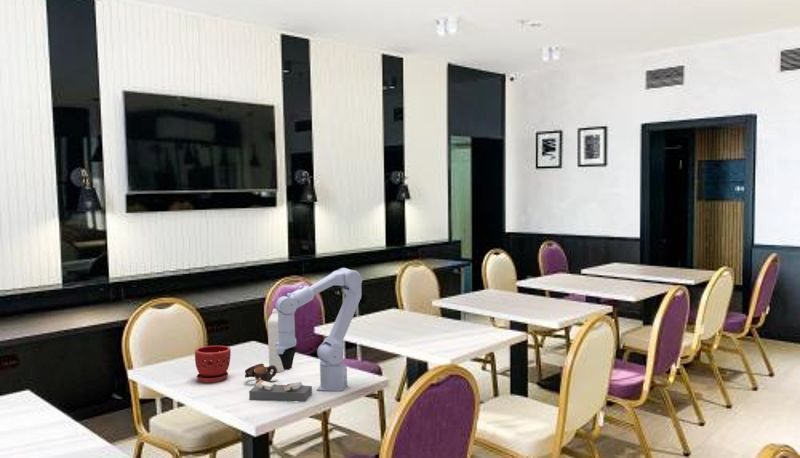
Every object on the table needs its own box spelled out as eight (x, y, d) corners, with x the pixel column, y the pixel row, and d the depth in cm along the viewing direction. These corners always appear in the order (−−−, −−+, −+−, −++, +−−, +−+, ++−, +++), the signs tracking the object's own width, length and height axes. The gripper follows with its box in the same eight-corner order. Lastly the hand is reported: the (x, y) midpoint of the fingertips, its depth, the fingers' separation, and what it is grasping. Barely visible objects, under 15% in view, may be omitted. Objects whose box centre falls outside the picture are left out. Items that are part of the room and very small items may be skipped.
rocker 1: (273, 387, 219) (274, 383, 219) (269, 390, 216) (270, 386, 216) (260, 384, 220) (261, 380, 220) (256, 387, 217) (257, 383, 217)
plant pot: (221, 385, 234) (220, 353, 233) (189, 383, 236) (188, 352, 235) (237, 374, 246) (236, 344, 246) (206, 373, 249) (205, 343, 248)
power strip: (312, 394, 221) (311, 385, 221) (304, 401, 213) (304, 392, 213) (258, 392, 225) (258, 383, 224) (249, 399, 217) (249, 390, 216)
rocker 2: (301, 385, 218) (300, 381, 218) (298, 388, 214) (297, 384, 214) (288, 387, 219) (287, 383, 219) (284, 391, 215) (283, 387, 215)
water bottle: (276, 373, 247) (274, 311, 245) (265, 370, 251) (263, 309, 249) (293, 368, 254) (291, 307, 252) (282, 365, 258) (280, 305, 256)
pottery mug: (250, 390, 229) (242, 369, 231) (249, 394, 237) (242, 373, 240) (281, 377, 233) (273, 357, 236) (279, 381, 242) (272, 362, 244)
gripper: (282, 326, 227) (284, 363, 228) (268, 335, 213) (269, 374, 214) (301, 326, 226) (302, 363, 227) (287, 335, 211) (288, 375, 212)
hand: (287, 369), depth 220 cm, fingers closed
